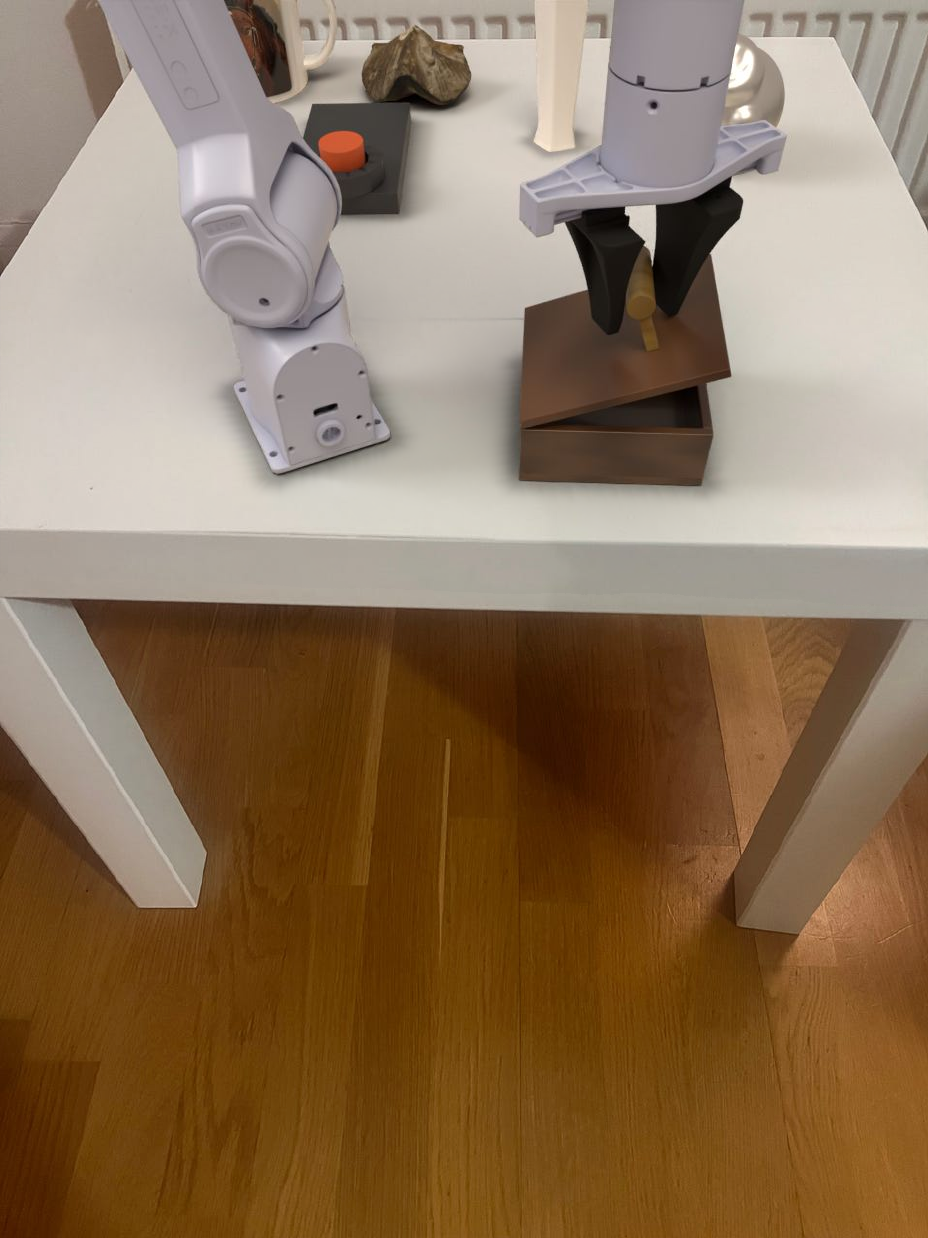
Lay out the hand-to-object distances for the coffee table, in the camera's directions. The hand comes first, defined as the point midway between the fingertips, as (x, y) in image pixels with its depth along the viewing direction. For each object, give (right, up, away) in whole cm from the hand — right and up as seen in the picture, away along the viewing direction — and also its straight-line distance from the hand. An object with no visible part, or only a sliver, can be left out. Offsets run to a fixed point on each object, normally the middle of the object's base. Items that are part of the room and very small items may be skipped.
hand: (635, 315), depth 55 cm
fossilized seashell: (-15, +32, +36) cm, 50 cm away
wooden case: (-1, -5, +7) cm, 8 cm away
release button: (-20, +20, +22) cm, 35 cm away
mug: (-29, +35, +38) cm, 59 cm away
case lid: (-1, -1, +2) cm, 2 cm away
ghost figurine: (+12, +22, +27) cm, 37 cm away
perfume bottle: (-2, +25, +30) cm, 39 cm away
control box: (-20, +22, +28) cm, 40 cm away
